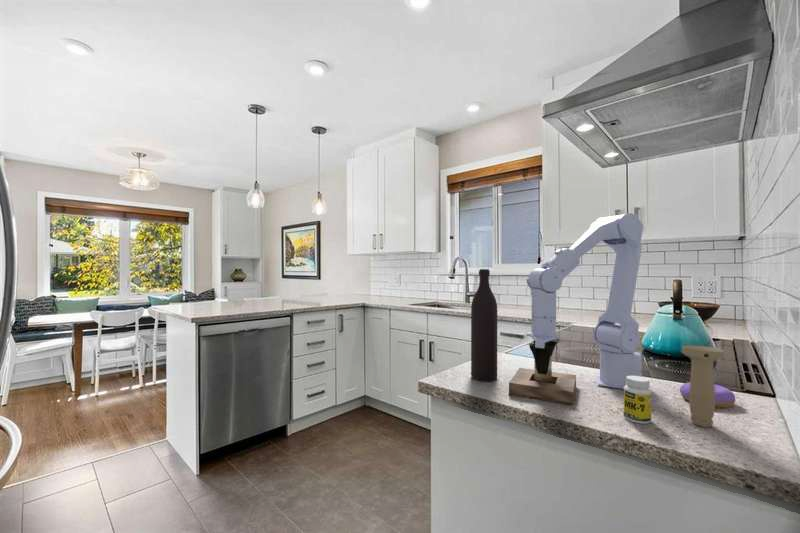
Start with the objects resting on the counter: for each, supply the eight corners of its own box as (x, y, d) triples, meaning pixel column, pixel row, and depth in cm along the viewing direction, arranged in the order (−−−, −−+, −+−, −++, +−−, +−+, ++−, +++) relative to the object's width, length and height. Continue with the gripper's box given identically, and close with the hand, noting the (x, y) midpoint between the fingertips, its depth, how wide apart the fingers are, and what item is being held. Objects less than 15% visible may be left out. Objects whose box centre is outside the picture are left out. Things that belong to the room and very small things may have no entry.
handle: (727, 432, 70) (727, 353, 70) (685, 426, 73) (685, 349, 73) (717, 422, 74) (718, 347, 74) (678, 417, 77) (679, 344, 77)
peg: (552, 378, 94) (552, 354, 94) (550, 382, 90) (550, 357, 90) (535, 375, 96) (535, 352, 96) (533, 380, 92) (533, 355, 92)
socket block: (576, 386, 96) (576, 375, 96) (572, 405, 83) (572, 392, 83) (519, 378, 102) (519, 367, 102) (508, 395, 90) (508, 382, 90)
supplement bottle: (620, 419, 76) (620, 378, 76) (627, 412, 79) (627, 373, 79) (648, 426, 73) (648, 383, 73) (653, 419, 76) (654, 378, 76)
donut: (718, 394, 90) (721, 375, 89) (743, 417, 81) (747, 397, 80) (671, 391, 92) (673, 373, 91) (690, 413, 83) (693, 394, 82)
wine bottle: (502, 377, 103) (502, 269, 103) (489, 383, 98) (489, 269, 98) (479, 372, 108) (479, 268, 108) (466, 378, 103) (466, 269, 102)
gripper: (531, 312, 101) (531, 362, 101) (521, 319, 88) (521, 376, 88) (559, 313, 98) (559, 365, 98) (554, 321, 85) (553, 381, 85)
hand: (543, 371), depth 93 cm, fingers closed on peg, 4 cm apart
